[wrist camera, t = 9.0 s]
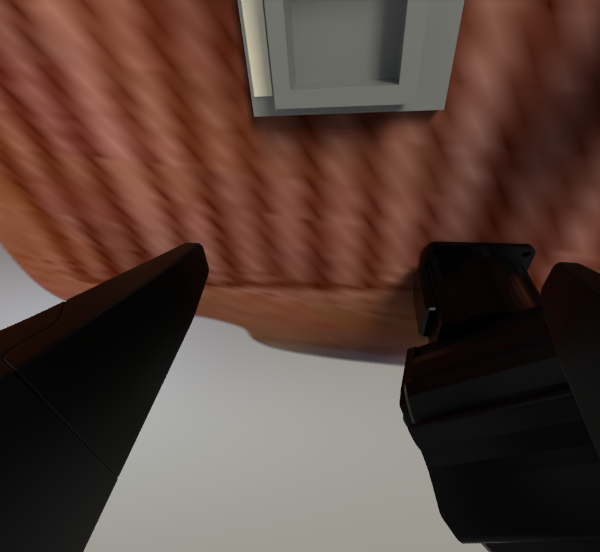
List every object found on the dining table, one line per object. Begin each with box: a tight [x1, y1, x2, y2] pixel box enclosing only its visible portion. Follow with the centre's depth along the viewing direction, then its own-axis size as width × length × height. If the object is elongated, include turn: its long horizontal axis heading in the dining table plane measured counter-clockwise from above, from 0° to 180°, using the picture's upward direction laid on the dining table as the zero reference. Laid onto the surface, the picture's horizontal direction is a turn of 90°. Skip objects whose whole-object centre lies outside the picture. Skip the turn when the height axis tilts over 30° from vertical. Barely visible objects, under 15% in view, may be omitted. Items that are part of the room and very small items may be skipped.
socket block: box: [237, 0, 464, 117], centre depth 15 cm, size 10×8×3 cm
